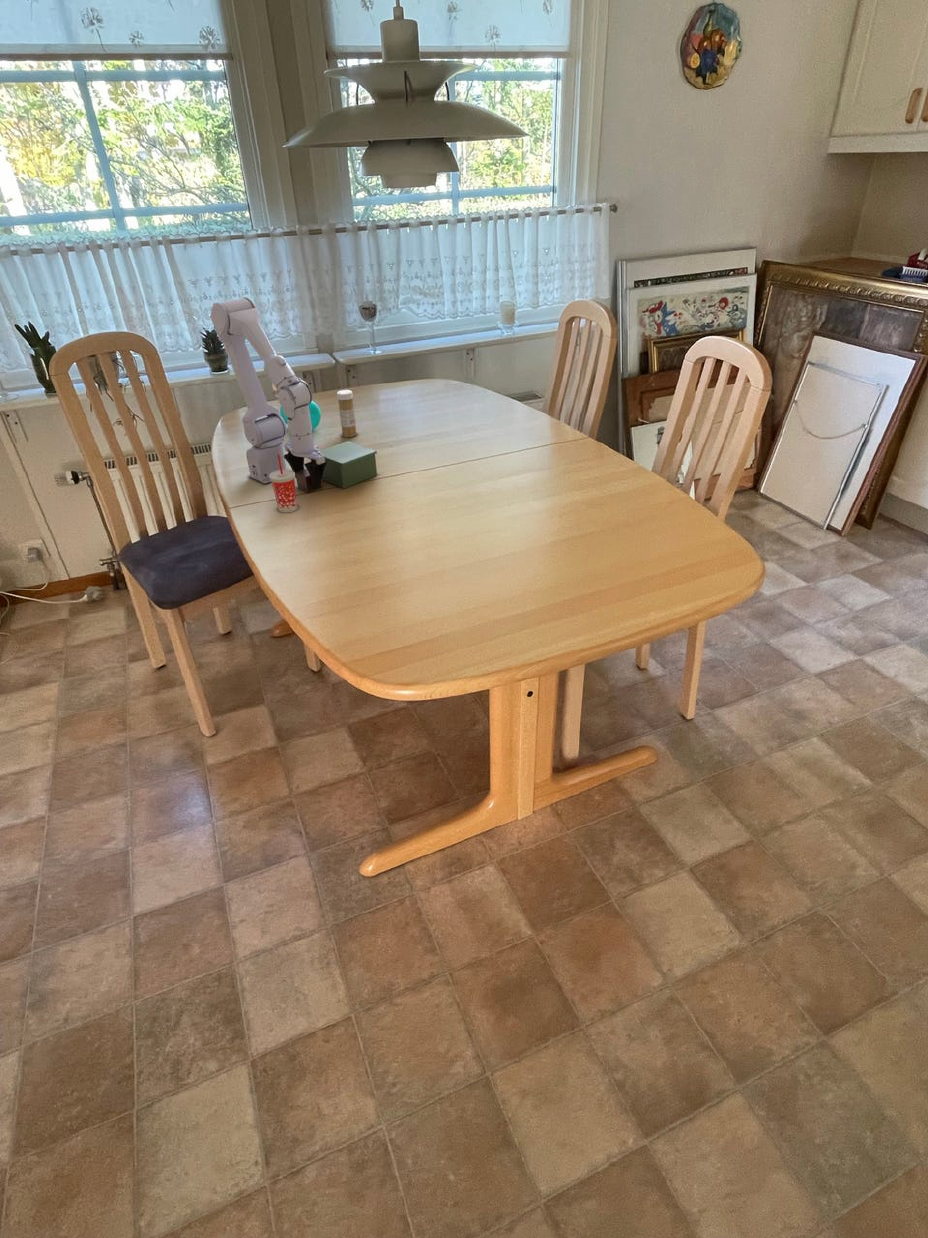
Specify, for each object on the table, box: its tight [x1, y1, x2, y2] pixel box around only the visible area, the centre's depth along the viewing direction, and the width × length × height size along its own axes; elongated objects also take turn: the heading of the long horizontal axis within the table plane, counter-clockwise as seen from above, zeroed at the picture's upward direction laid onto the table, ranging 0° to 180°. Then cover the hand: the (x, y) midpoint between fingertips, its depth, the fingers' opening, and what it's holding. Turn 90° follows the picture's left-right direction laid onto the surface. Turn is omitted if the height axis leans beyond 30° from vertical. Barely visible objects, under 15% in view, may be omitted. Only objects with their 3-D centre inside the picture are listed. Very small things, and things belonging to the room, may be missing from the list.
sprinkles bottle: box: [336, 389, 358, 438], centre depth 211 cm, size 5×5×14 cm
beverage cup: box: [269, 454, 298, 513], centre depth 169 cm, size 6×6×14 cm
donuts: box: [279, 400, 322, 432], centre depth 217 cm, size 10×10×10 cm
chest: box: [322, 454, 378, 489], centre depth 187 cm, size 11×12×6 cm
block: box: [295, 468, 322, 494], centre depth 181 cm, size 4×4×4 cm
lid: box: [318, 440, 378, 466], centre depth 185 cm, size 12×12×1 cm
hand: (308, 482), depth 182 cm, fingers open, 7 cm apart
